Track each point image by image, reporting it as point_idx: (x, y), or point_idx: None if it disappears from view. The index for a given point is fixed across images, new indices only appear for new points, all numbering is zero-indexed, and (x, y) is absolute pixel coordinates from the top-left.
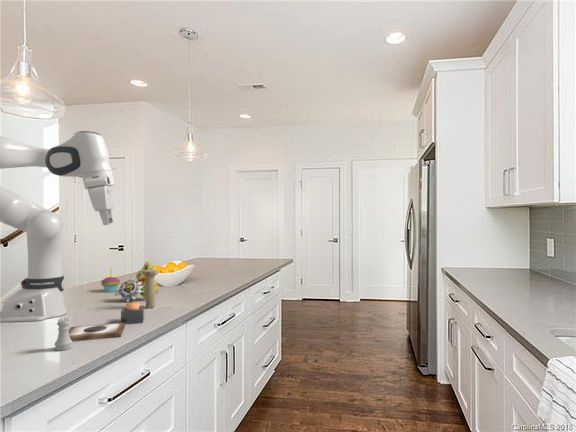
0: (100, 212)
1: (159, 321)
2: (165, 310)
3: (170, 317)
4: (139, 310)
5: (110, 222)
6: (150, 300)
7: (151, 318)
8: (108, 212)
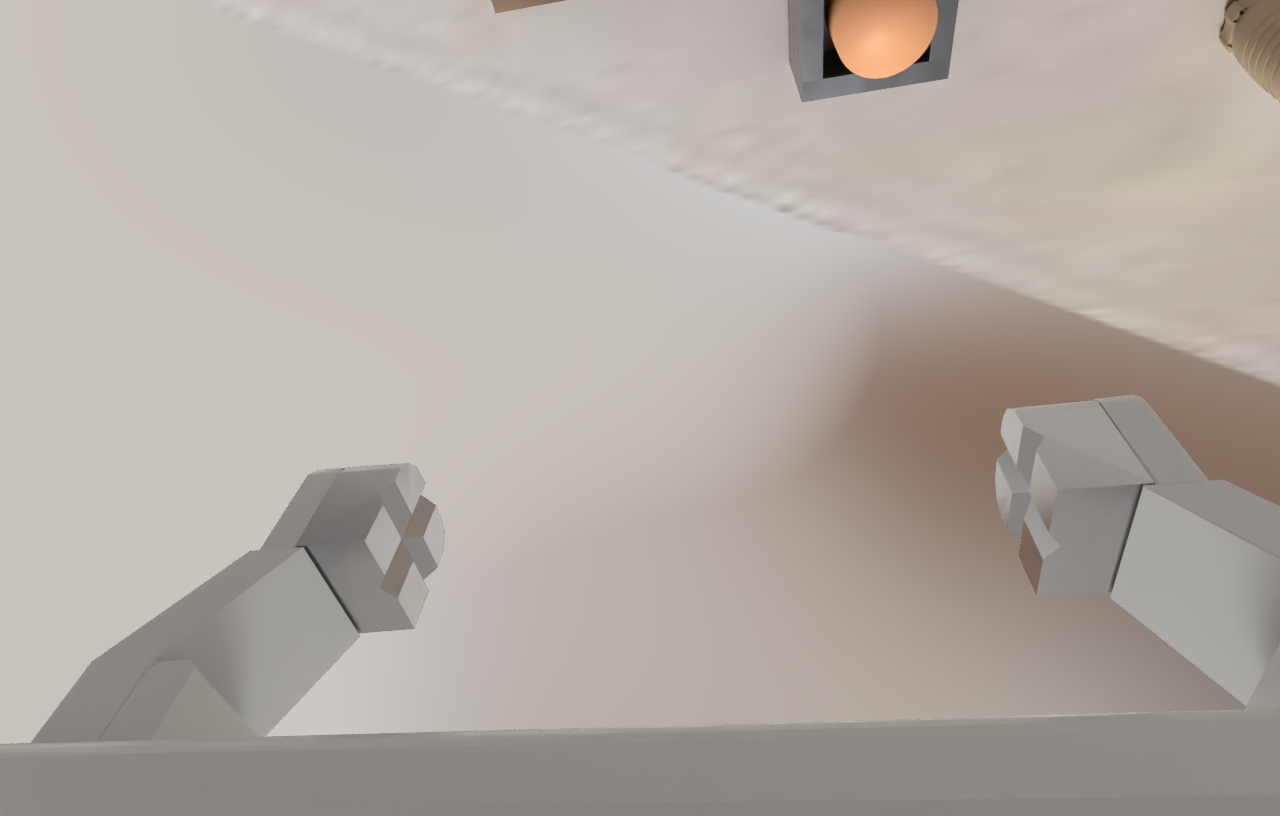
0: (69, 735)
1: (796, 154)
2: (1075, 141)
3: (869, 197)
4: (802, 79)
5: (1004, 471)
6: (1246, 50)
7: (889, 93)
8: (1248, 703)
